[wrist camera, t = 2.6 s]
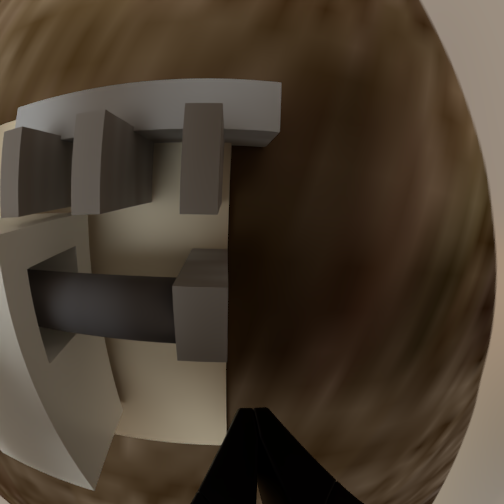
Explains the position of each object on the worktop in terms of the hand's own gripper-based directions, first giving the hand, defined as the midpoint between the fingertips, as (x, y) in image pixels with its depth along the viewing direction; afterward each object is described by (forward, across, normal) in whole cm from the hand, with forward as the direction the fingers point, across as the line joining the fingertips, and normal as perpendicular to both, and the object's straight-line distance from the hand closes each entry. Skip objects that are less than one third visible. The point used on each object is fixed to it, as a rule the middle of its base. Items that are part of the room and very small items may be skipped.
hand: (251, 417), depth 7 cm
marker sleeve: (+2, +7, -2) cm, 7 cm away
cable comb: (+3, +12, -3) cm, 13 cm away
